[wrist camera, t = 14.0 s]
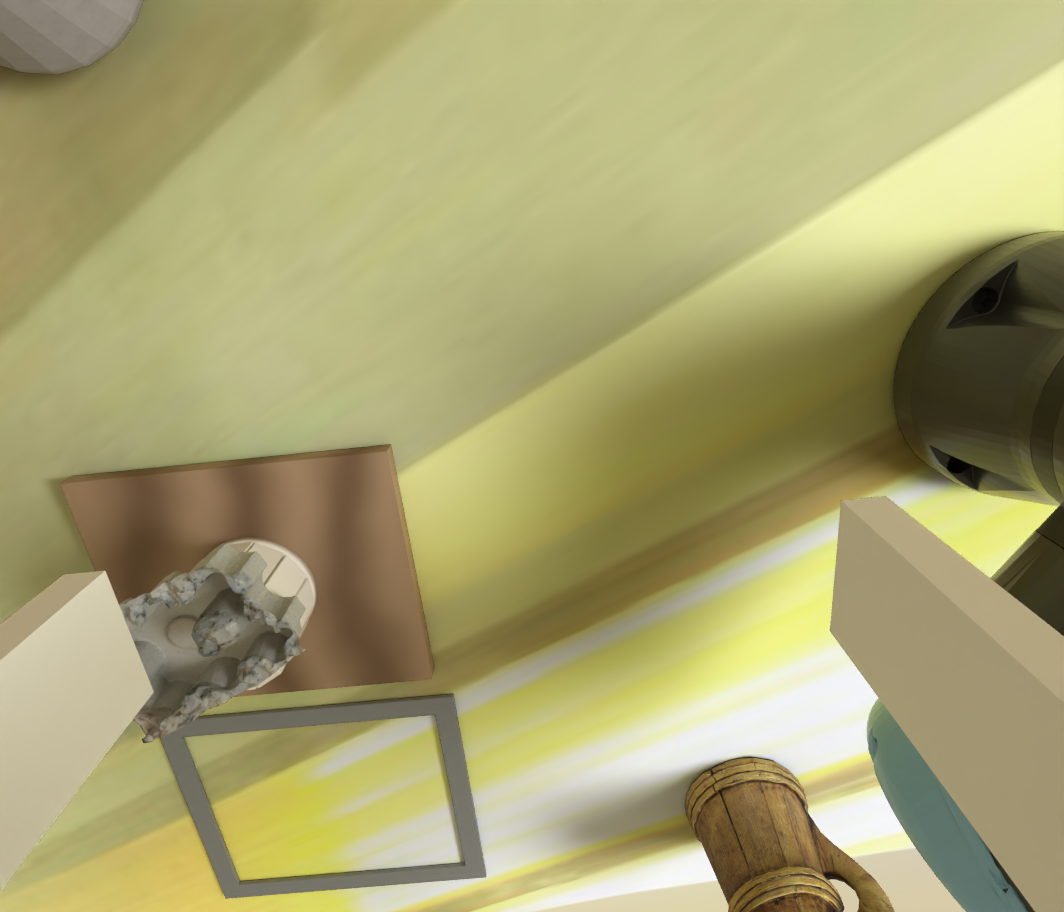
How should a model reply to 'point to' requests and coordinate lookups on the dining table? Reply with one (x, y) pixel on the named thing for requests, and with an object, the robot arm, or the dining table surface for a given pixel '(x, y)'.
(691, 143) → the dining table surface
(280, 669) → the cream hollow cylinder
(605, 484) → the dining table surface
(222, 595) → the egg carton
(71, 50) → the coffee pot
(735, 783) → the wooden mug
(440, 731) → the mat border
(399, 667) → the walnut board
